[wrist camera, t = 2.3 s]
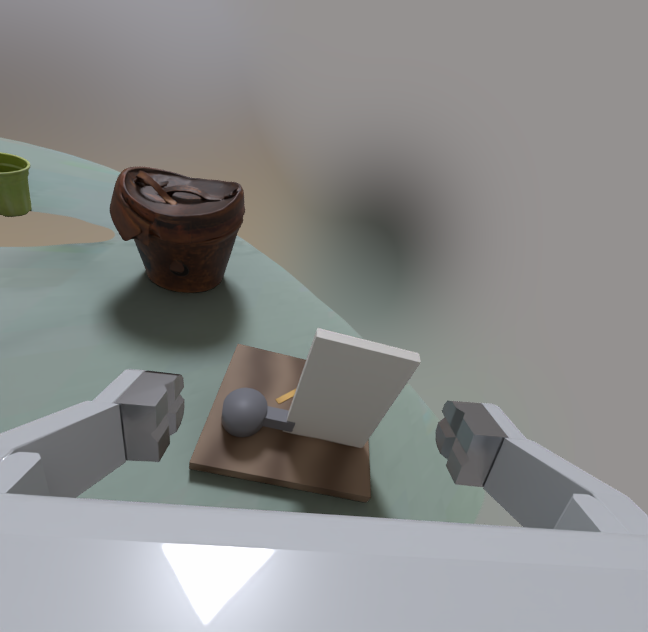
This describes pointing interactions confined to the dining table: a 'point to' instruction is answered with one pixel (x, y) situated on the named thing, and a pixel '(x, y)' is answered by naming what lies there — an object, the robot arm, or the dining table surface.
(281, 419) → the white upright panel
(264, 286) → the dining table surface
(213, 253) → the case
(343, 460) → the dial board
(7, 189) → the plant pot
